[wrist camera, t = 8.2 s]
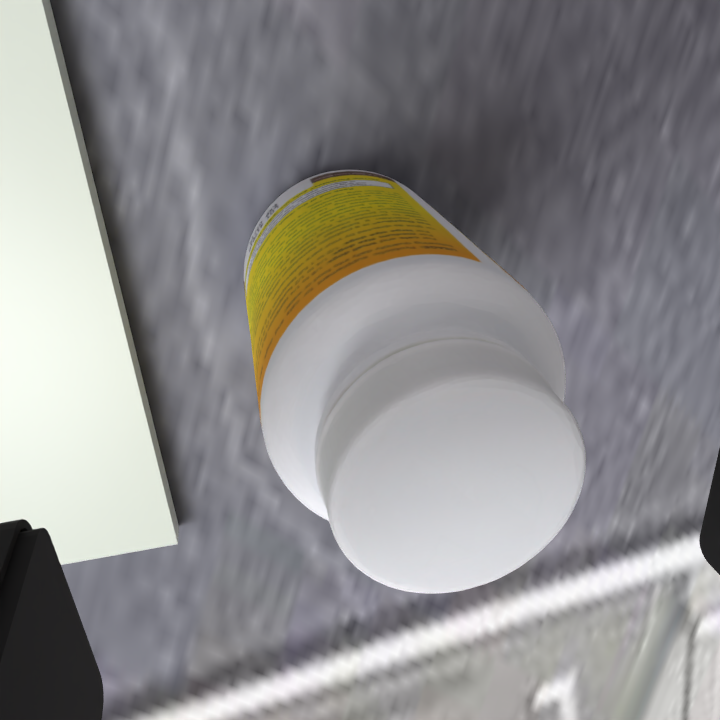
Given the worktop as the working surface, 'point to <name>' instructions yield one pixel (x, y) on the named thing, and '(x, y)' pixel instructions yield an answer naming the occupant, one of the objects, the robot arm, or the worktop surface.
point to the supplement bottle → (407, 385)
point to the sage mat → (65, 325)
